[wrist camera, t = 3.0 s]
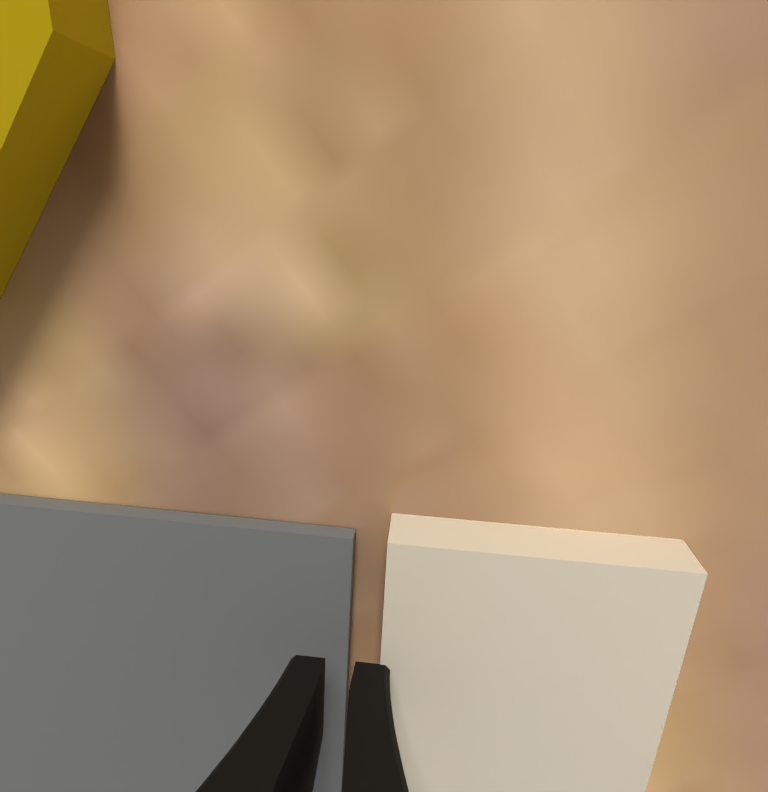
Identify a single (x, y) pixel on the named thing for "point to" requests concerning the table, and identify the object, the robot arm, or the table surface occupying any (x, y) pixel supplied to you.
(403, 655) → the tile
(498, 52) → the table surface
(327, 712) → the mat
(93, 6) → the decorative disc
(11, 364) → the table surface
